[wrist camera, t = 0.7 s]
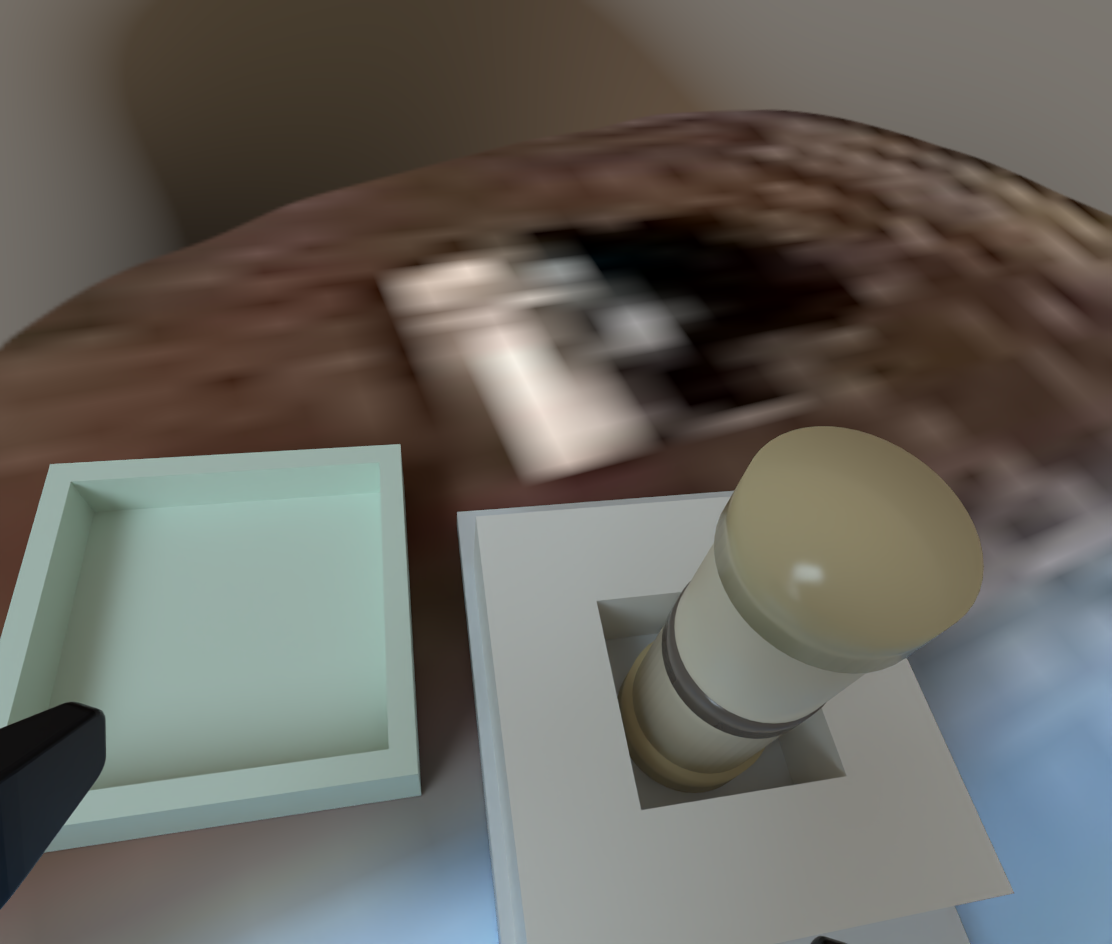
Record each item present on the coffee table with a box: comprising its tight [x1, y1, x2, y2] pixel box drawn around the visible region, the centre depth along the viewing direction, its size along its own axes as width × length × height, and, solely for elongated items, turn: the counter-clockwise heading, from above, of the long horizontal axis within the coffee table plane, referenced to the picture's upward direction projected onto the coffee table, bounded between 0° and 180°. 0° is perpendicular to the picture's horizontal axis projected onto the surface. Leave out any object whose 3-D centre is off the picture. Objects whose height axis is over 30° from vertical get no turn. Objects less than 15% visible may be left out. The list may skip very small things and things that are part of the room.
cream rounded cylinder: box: [617, 426, 984, 793], centre depth 19 cm, size 5×5×13 cm
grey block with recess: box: [457, 491, 1014, 944], centre depth 23 cm, size 18×14×4 cm
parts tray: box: [0, 444, 421, 852], centre depth 24 cm, size 12×12×3 cm
